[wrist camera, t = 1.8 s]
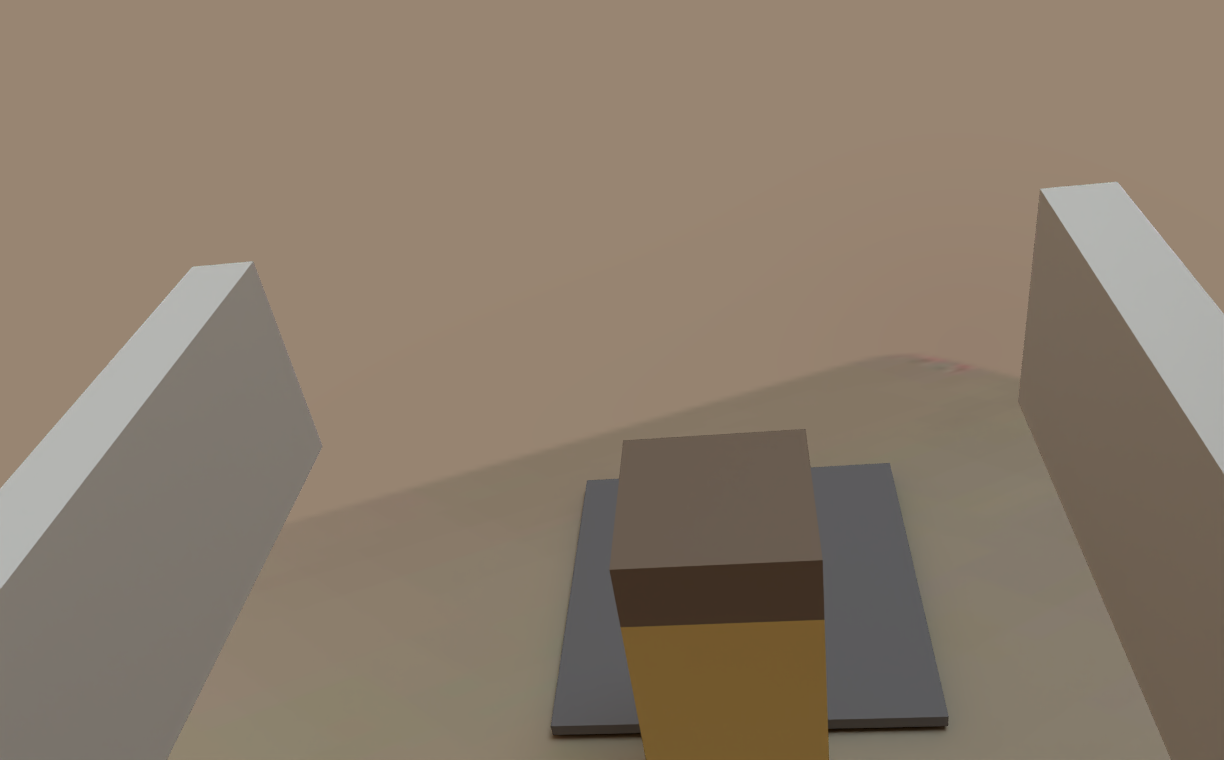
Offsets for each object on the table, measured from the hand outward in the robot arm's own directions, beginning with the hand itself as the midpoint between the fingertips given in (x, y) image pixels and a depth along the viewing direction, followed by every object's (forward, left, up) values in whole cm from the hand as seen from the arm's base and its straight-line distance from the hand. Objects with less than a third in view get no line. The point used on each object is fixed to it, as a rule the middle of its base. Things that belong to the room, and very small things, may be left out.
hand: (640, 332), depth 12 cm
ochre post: (0, -10, -25) cm, 27 cm away
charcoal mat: (0, -20, -25) cm, 32 cm away
